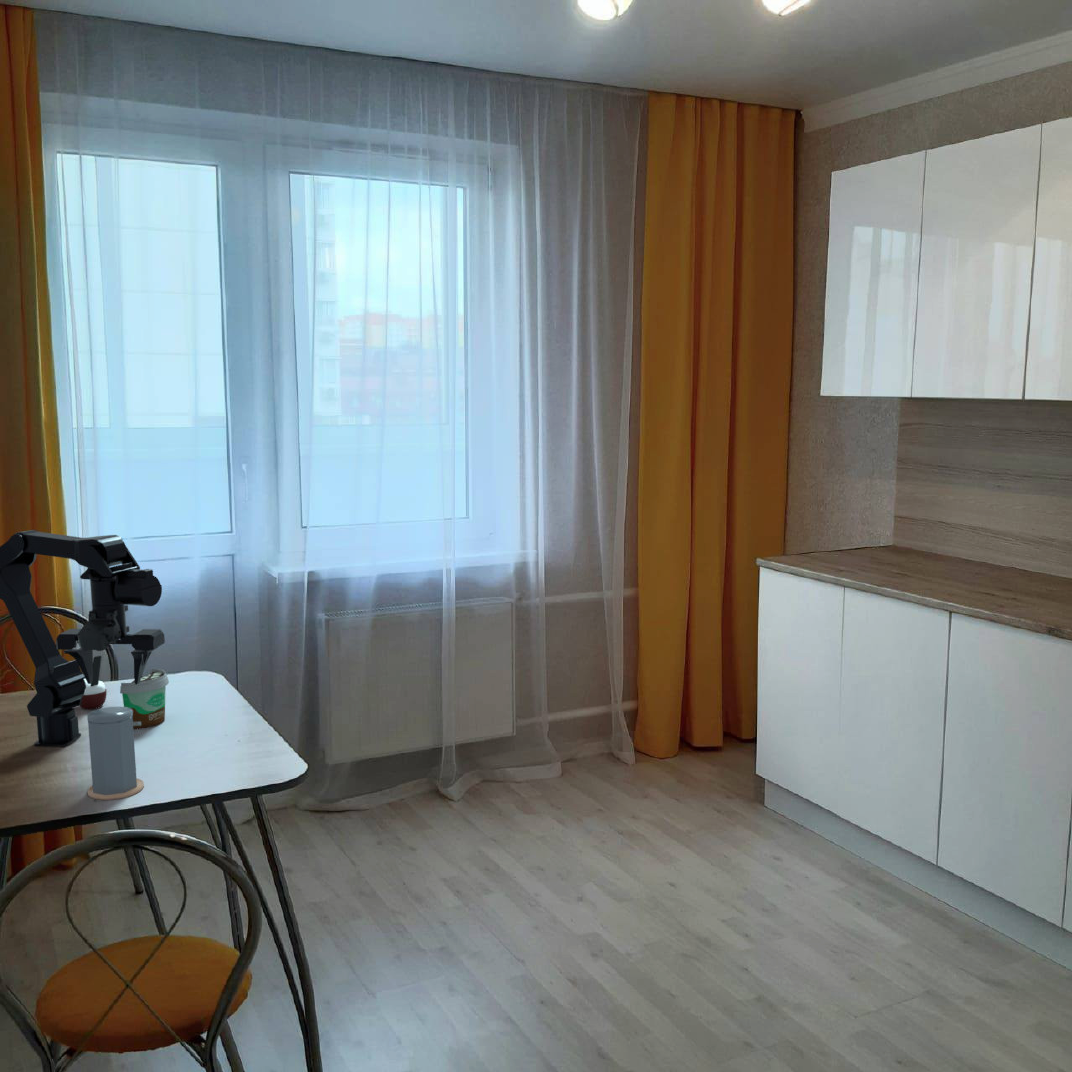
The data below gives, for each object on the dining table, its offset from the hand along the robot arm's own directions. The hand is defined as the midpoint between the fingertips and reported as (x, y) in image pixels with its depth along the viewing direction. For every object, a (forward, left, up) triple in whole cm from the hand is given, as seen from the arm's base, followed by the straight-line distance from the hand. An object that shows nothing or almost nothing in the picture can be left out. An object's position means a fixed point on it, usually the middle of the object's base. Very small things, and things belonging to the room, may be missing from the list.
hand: (113, 683), depth 202 cm
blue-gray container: (+9, -20, -12) cm, 25 cm away
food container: (0, +16, -13) cm, 21 cm away
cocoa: (-18, +26, -13) cm, 34 cm away
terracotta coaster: (+9, -20, -13) cm, 25 cm away
